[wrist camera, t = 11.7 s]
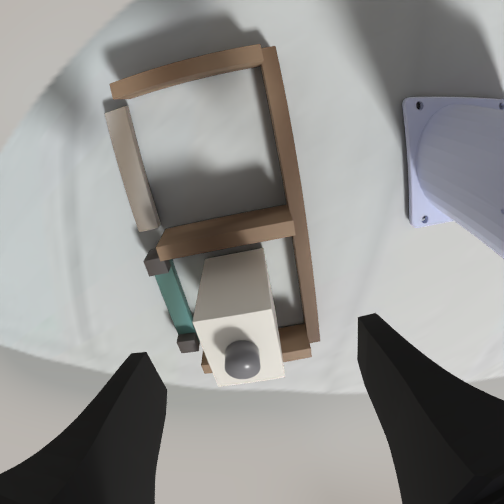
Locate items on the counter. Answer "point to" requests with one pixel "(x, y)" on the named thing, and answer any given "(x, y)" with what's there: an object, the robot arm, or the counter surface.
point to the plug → (238, 319)
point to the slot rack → (224, 228)
